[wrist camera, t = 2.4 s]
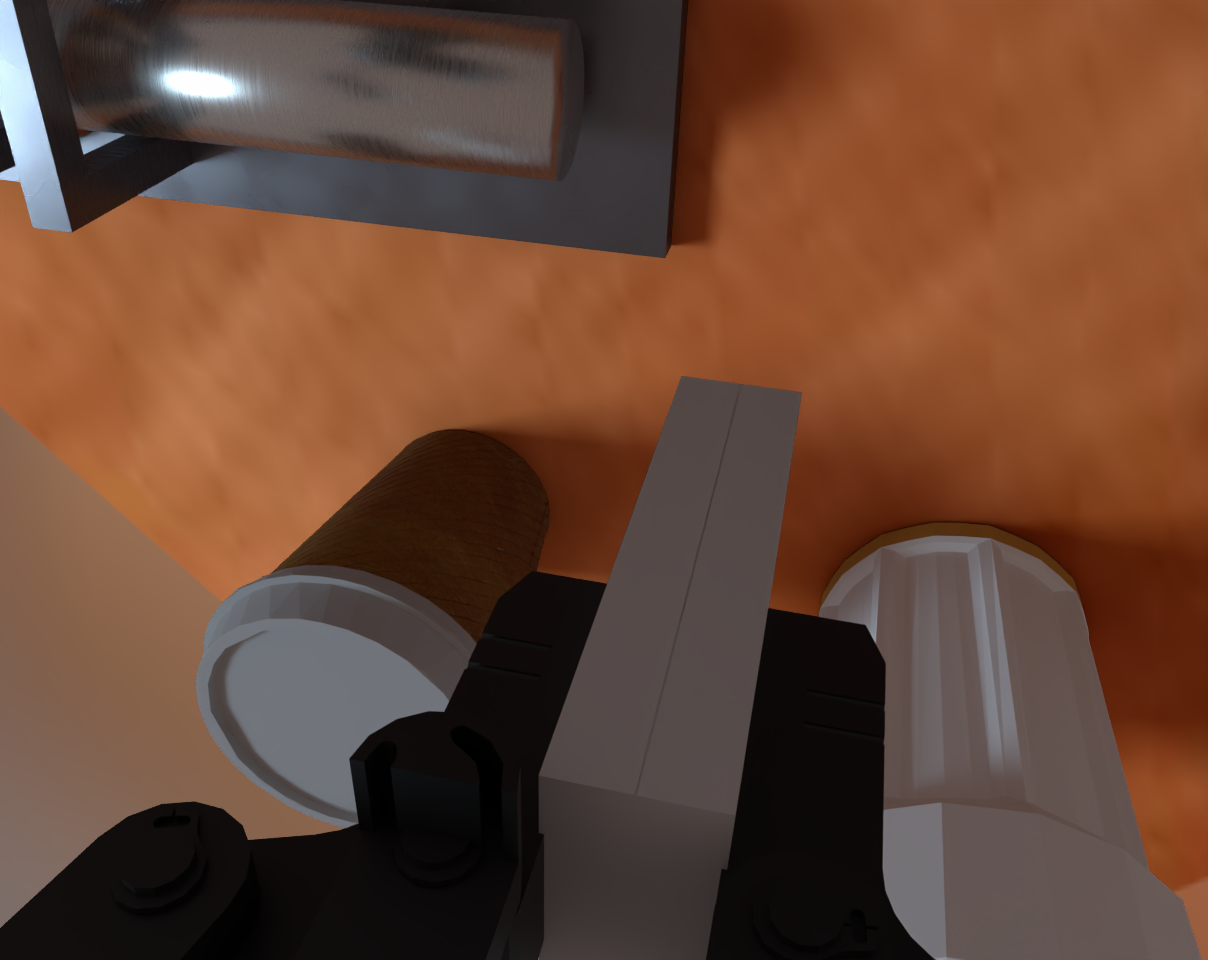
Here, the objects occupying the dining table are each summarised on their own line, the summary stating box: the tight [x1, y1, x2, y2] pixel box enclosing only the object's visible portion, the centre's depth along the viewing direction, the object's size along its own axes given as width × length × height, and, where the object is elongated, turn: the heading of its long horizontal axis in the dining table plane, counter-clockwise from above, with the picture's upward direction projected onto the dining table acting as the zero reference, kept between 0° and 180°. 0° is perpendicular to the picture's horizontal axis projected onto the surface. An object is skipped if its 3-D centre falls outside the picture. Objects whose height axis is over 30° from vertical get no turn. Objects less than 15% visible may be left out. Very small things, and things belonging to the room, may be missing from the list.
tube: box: [46, 0, 584, 181], centre depth 29 cm, size 16×4×4 cm, turn 89°
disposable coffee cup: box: [196, 430, 549, 828], centre depth 36 cm, size 10×10×12 cm
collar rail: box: [0, 0, 688, 258], centre depth 30 cm, size 10×30×8 cm, turn 89°
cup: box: [819, 523, 1202, 960], centre depth 32 cm, size 11×11×17 cm
